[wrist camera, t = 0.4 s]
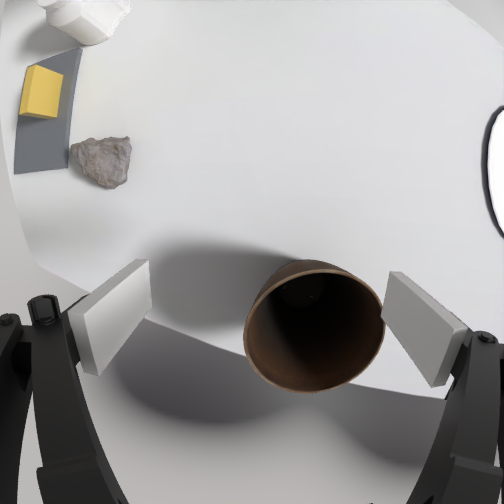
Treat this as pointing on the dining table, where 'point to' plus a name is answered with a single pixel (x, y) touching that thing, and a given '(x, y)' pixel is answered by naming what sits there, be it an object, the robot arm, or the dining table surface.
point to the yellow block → (41, 93)
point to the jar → (86, 17)
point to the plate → (497, 168)
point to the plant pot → (313, 328)
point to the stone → (104, 159)
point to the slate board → (48, 122)
